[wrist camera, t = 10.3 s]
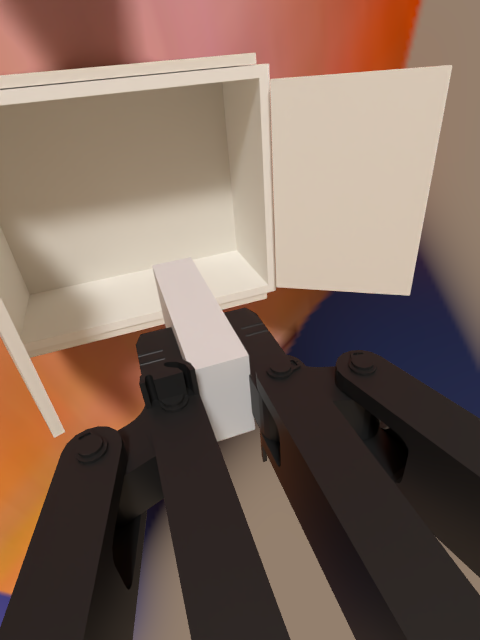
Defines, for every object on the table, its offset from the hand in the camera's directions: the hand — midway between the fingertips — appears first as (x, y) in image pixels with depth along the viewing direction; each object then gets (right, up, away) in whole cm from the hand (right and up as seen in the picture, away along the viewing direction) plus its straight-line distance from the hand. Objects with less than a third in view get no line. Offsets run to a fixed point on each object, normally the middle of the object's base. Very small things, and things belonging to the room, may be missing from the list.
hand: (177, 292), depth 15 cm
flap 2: (+9, +6, +8) cm, 13 cm away
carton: (-6, +9, +14) cm, 17 cm away
